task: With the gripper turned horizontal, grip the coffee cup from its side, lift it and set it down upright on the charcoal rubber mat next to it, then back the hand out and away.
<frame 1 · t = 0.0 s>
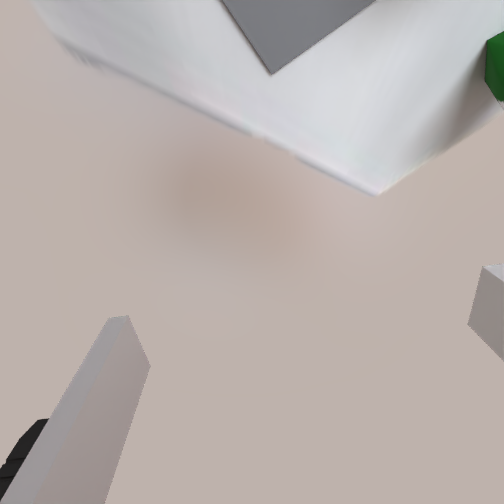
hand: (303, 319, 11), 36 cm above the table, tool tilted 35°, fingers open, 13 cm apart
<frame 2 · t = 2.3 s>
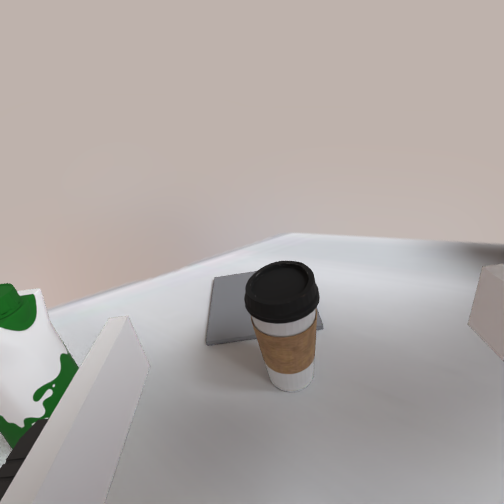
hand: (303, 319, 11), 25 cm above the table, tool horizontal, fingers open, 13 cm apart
mat: (261, 301, 54), on the table
milk carton: (61, 424, 38), on the table
coffee cup: (291, 373, 40), on the table
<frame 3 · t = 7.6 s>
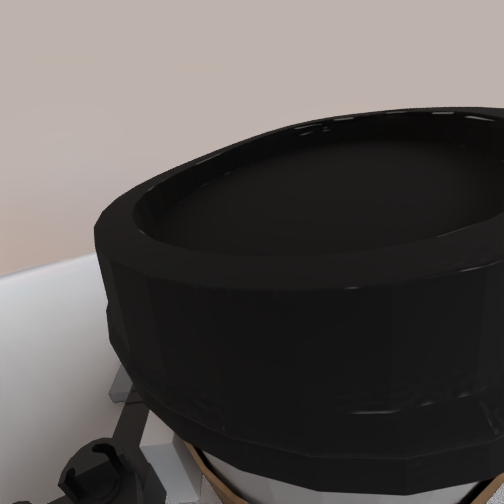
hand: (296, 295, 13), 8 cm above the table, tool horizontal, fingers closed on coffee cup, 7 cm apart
mat: (249, 297, 27), on the table
when the fingers open (10 cm above the table, at t = 13.4 s): coffee cup drops 1 cm, resting on mat.
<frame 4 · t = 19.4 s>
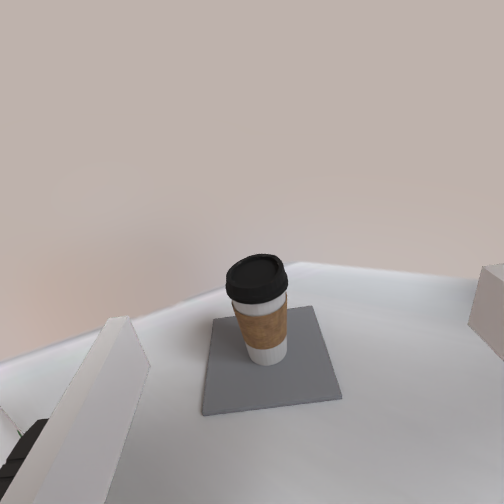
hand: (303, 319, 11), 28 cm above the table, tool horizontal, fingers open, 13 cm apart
mat: (266, 353, 47), on the table
coffee cup: (267, 351, 46), point 1 cm above the table, touching mat
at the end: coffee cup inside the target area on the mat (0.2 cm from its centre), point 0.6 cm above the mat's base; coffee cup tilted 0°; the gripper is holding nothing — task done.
